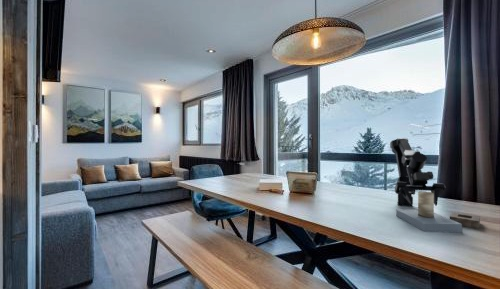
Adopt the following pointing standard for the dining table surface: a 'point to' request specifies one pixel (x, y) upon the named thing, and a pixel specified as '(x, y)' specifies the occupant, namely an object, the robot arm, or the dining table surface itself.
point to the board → (429, 221)
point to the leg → (425, 204)
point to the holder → (466, 219)
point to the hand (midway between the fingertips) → (423, 204)
